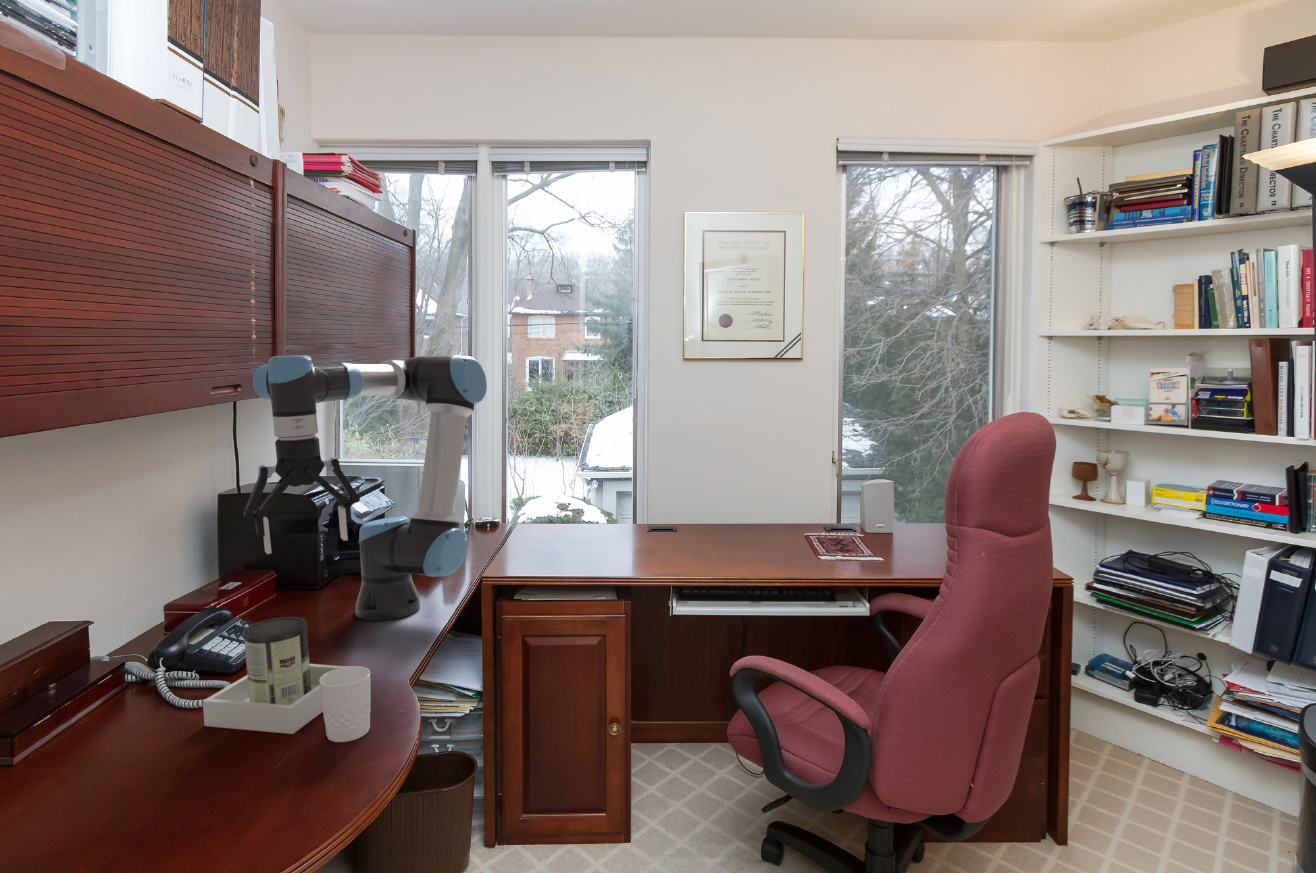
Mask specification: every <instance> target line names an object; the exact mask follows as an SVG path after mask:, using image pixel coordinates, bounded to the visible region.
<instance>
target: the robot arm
mask: <svg viewBox="0 0 1316 873" xmlns="http://www.w3.org/2000/svg"><path fill="white" fill-rule="evenodd" d="M487 384H488V383H487V376H486V374H485V370H484V369H483V366H482V365H481V363H480V362H479V360H477V359H475V358H474V357H472V356H469V355H458V354H455V355H421V356H413V357H407V358H402V359H387V360H383V361H381V362H379V363H352V362H342V361H341V362H331V363H330V362H329V363H324V362H323V363H313V360H312V357H311V356H310V355H307V354H300V355H299V354H296V355H275V356H271V357H270V358H269V359H268V362H267V364H262V365H260V366H259V367H257V369H256V370H255V371H254V373H253V376H252V388H253V390H254V392H255V393H256V395H257V396H259V397H260V398H261V399H263V400H264V399H265V400H267V401H268V400H269V401H270V404H271V410H272V412H271V413H272V421H273V425H272V426H273V434H274V437H276V438H277V439H276V440H275V441H274V442H275V444H274V445H275V455H276V464H275V466H266V465H264V464H262V465H260V466H259V467H258V478H257V479H256V482H255V483H254V484H255V485H254V487H253V489H252V491H251V493H250V495H249V498H248V499H247V500H248V501H247V503H246V505H245V507H244V509H243V513H242V514H243V516H244V517H245V519H252V520H254V521H255V522H254V523H255V530H256V531H255V532H256V535H257V536H258V537H263V545H264V546H263V547H264V552H265V553H266V555H269V554H272V553H273V552H272V545H271V535H270V524H269V519H268V518H267V516H266V515H267V514H268V513H269V512H270V510H271V509H272V507H273V506H274V504H275V503H276V502H277V501H278V499H279V498H280V496H282V494H283V492H285V491H286V490H287V488H288V487H289V486H290V487H293V488H296V487H300V486H312V484H314V483H315V482H316V484H319V485H320V486H321V487H322V489H324V490H326V492H328V494H330V495H331V496H332V497H333V498H335V499H336V500H337V501H338V502H339V503H340V504H341V505H338V506H337V512H338V521H339V523H338V524H339V534H340V539H342V541H348V540H349V538H348V537H349V536H348V527H347V524H348V523H351V522H352V512H351V511H352V510H351V507H352V505H354V504H356V503H359V502H360V501H361V498H360V496H359V495H358V493H357V492H356V490H355V489H354V487H353V486H352V484H351V483H350V481H349V479H348V478H347V477H346V476H345V473H344V472H343V471H342V469H341V466H340V461H339V459H337V458H336V457H330V459H326V460H322V456H321V448H320V438H319V437H318V436H316V435H317V434H319V425H318V415H317V404H319V403H325V402H326V403H327V402H334V401H347V400H349V399H350V400H351V399H354V398H356V397H372V396H373V397H376V396H379V397H380V396H381V397H382V398H384V399H388V400H393V399H394V400H395V399H396V400H405V401H406V400H407V401H416V402H422V403H425V407H426V409H427V410H428V411H429V413H430V419H429V426H428V433H427V438H426V440H427V441H426V446H425V447H426V448H425V449H426V450H425V455H424V462H423V470H422V471H423V472H422V477H421V485H420V493H419V499H418V507H417V511H416V512H414V513H413V514H412V515H411V516H410V518H408V517H407V516H394V517H392V516H391V517H385V518H379V519H376V520H371V521H368V522H366V523H363V524H362V525H361V526H360V528H359V536H358V538H359V539H358V546H359V559H360V576H361V585H360V588H359V589H360V590H359V593H358V596H357V598H356V603H355V616H356V617H357V618H359V619H361V620H365V621H372V622H373V621H377V622H378V621H379V622H380V621H391V620H395V619H400V618H405V617H407V616H410V615H413V614H414V613H416V612H418V611H419V610H420V608H421V599H420V595H419V592H418V591H417V588H416V586H415V585H416V584H415V583H414V581H413V578H412V574H414V575H422V576H428V577H447V576H450V575H453V573H455V572H456V571H457V570H458V569H459V567H460V566H461V565H462V563H463V561H464V560H465V557H466V554H467V551H468V550H467V549H468V539H467V535H466V533H465V531H463V530H462V529H461V528H460V525H461V524H460V522H461V521H460V520H459V519H458V517H457V516H456V514H455V511H456V503H457V496H458V488H459V482H460V481H459V480H460V472H461V464H462V456H463V448H464V440H465V433H466V424H467V419H468V417H469V416H471V415H473V413H474V411H475V405H476V404H479V403H480V402H482V401H483V399H484V398H485V396H486V394H487V388H488V387H487ZM325 467H326V468H327V470H330V471H332V473H333V474H334V477H336V479H337V480H338V482H339V483H340V486H342V488H343V489H344V491H345V493H346V494H347V495H348V497H347V498H346V497H345V496H344V495H343V494H341V493H340V492H339V490H338V489H336V488H334V487H333V486H332V484H330V483H329V482H328V481H327V480H325V478H323V477H322V476H321V473H322V472H323V470H324V468H325ZM274 473H276V474H277V475H278V476H279V480H278V481H277V483H276V485H275V486H274V487H273V489H272V490H271V491H270V492H269V494H268V496H267V497H266V498H265V499H264V500H263V502H262V503H261V505H260V506H259V507H258V508H257V505H258V504H259V502H260V498H261V496H262V495H263V491H264V490H265V487H266V485H267V482H268V479H269V478H272V476H273V474H274ZM256 508H257V510H256Z"/></svg>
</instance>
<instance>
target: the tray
mask: <svg viewBox="0 0 1316 873" xmlns="http://www.w3.org/2000/svg"><path fill="white" fill-rule="evenodd" d="M309 664H310V678H311V689H312V690H311V691H310V692H308V693H307V694H305V695H304V696H302V697H301V698H300V699H298V700H297V701H295V702H294V703H292V704H291V705H281V704H269V703H257V702H250V699H249V688H248V676H247V674H246V675H245V676H243V677H241V678H239V679H238V680H236V681H235V682H232V683H231V684H230V685H228V686H225V687H224V688H222V689H221V690H219V691H217V692H215V693H214V694H212V695H210V696H209V697H207V698H205V699H204V700H202V708H203V710H202V711H203V722H204V727H213V728H223V729H233V730H235V729H236V730H247V731H257V732H268V733H280V734H288V735H289V734H290V735H293V734H295V733H297V732H298V731H299V730H301V729H302V728H304V726H305V725H307V724H308V723H309V722H311V721H312V720H313V719H315V718H316V717H318V716H319V715H320V714H321V713H323V709H322V700H321V691H320V683H319V679H320V677H321V676H322V675H324V674H325V673H327V672H329V671H332V670H334V669H338V668H342V667H348V666H349V665H346V666H345V665H331V664H319V663H309Z"/></svg>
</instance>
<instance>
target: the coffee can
mask: <svg viewBox="0 0 1316 873" xmlns="http://www.w3.org/2000/svg"><path fill="white" fill-rule="evenodd" d="M242 637H243V639H244V653H245V661H246V662H245V663H246V675H247V676H248V688H249V699H250V702H257V703H269V704H281V705H291V704H292V703H294V702H295V701H297V700H298V699H300V698H301V697H302V696H304V695H305V694H307V693H308V692H310V691H311V690H312V689H311V678H310V664H311V663H310V655H309V654H310V653H309V641H308V640H309V636H308V621H307V620H306V618H303V617H299V616H280V617H275V618H268V619H265V620H261V621H259V622H255V623H253V624H251V625H249V626H247V627H246V628H244V629H243V631H242Z"/></svg>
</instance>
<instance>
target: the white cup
mask: <svg viewBox="0 0 1316 873" xmlns="http://www.w3.org/2000/svg"><path fill="white" fill-rule="evenodd" d="M347 666H348V667H342V668H338V669H334V670H332V671H329V672H327V673H325V674H324V675H322V676H321V677H320V679H319V683H320V691H321V700H322V709H323V712H322V713H323V721H324V724H325V734H326V737H327V739H328V741H331V742H334V743H346V742H352V741H355V740H358V739H360V738H362V737H364V736H365V735H366V734H368V733H369V731H370V729H371V709H372V708H371V702H372V701H371V700H372V698H371V694H372V693H371V691H372V690H371V670H370V668H368V667H365V666H361V665H360V666H359V665H350V666H349V665H347Z"/></svg>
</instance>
